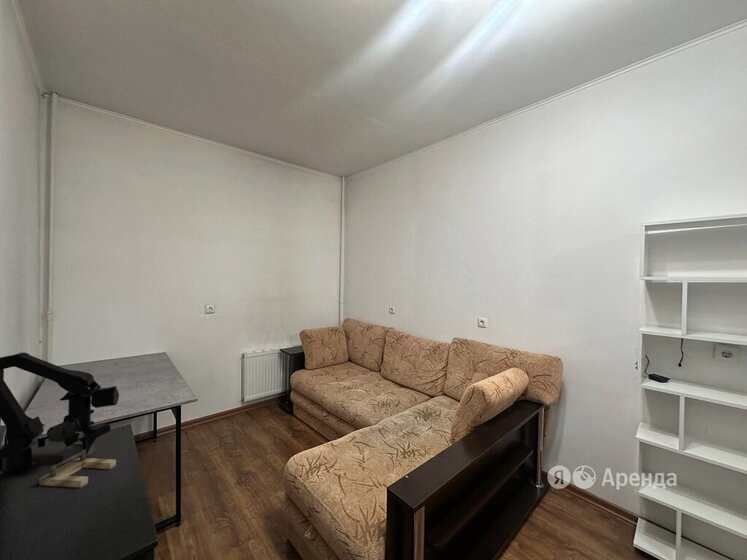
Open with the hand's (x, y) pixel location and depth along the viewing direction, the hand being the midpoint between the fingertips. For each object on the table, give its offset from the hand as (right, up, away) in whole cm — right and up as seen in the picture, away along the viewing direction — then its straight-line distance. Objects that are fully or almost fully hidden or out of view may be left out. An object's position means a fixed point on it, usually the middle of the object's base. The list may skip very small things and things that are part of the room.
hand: (78, 454), depth 105 cm
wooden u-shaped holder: (+10, -1, -10) cm, 14 cm away
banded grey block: (0, -1, 0) cm, 1 cm away
